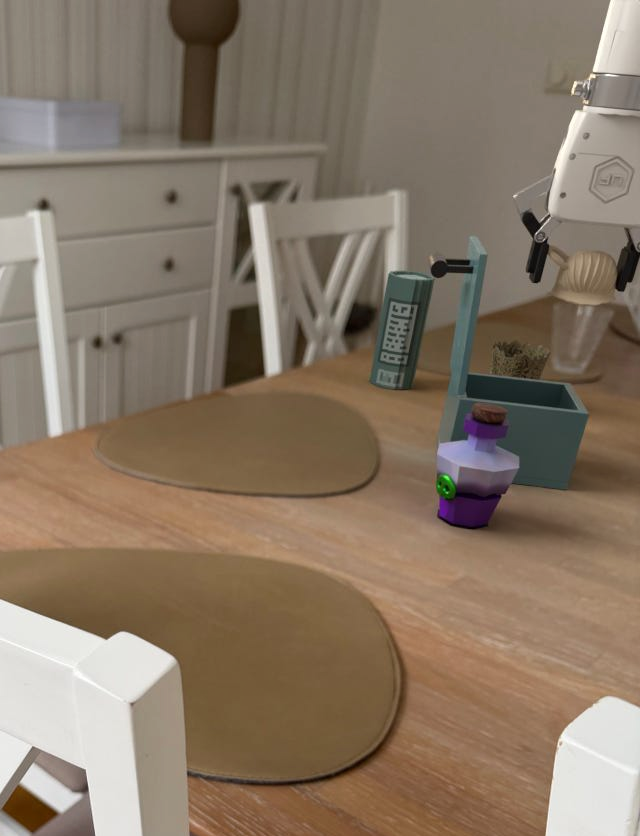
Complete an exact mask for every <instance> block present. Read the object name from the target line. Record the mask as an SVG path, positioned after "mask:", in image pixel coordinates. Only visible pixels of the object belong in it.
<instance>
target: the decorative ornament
mask: <svg viewBox="0 0 640 836" xmlns="http://www.w3.org/2000/svg"><path fill="white" fill-rule="evenodd" d="M556 254H557V255H556ZM547 256H548V257H549V258H550V259H551V260H552V261H553V262H554V263H555V264H556V265H557V266H558V267H559V270H558V271H557V275H556V279H555V283H554V285H553V287H552V289H551V290H549V291H548V292H546V296H547V295H551V296H553V297H555V298H557V299H559V300H562V301H565V302H566V303H570V304H574V305H576V306H579V307H580V306H581V307H584V306H585V307H586V306H587V307H598V306H600V305H608V303H612V302H614V301H616V300H617V297H616V296H615V291H616V289H615V288H616V281H617V274H618V273H617V262H616V260H615V259H614V257H613V256H612V255H611V254H609V253H607V252H606V251H602V250H597V249H584V250H579V251H576V252H574V253H572V254H570V255H568V254H567V253H566V252H565V251H563V250H562V249H560V248H559V247H557V246H555V245H551V244H549V250H548V254H547ZM558 256H559V257H558ZM560 258H561V259H562V260H561V259H560Z"/></svg>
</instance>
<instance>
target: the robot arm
mask: <svg viewBox="0 0 640 836" xmlns="http://www.w3.org/2000/svg"><path fill="white" fill-rule="evenodd" d="M570 93H571V94H570V95H571V96H572V97H578V98H579V99H581V100H582V104H583V107H582V109H576V110H575V112H574V113H573V115H572V118H571V120H570V122H569V124H568V127H567V129H566V132H565V134H564V137H563V140H562V143H561V144H560V145H561V146H560V148H559V151H558V153H557V154H558V155H557V157H556V160H555V163H554V166H553V169H552V172H551V174H549V175H547V176H544V177H542V178H541V179H539V180H537V181H536V182H534V183H532V184H530V185H528V186H526V187H525V188H522V189H521V190H519V191H517V192H515V193H514V194H513V197H512V201H513V203H514V204H515V208H516V211H517V213H518V215H519V218H520V221H521V222H522V224H523V225H524V227H525V229H526V231H527V232H528V233H529V236H530V237H531V238H532V241H531V245H530V248H529V249H530V250H529V254H528V257H527V261H526V265H525V273H526V274H529V275H528V278H529V280H530V282H531V283H532V284H539V283H541V281H542V277H543V273H544V269H545V265H546V261H547V257H548V250H549V246H550V244H549V243H548V240H549V236H550V235H552V234H553V233H554V231H555V230H556V229H557V228H559V226H560V225H561V224H562V223H568V224H569V223H570V224H578V225H579V224H580V225H590V226H601V227H611V228H621V229H622V228H623V229H624V233H625V236H626V240H627V243H626V246H623V248H621V250H620V253H619V256H618V261H617V262H616V267H617V273H618V274H617V281H616V288H615V291H617V292H620V293H624V292H626V288H627V285H628V283H629V284H631V283H633V281H634V278H635V274H636V272H637V268H638V264H639V261H640V0H610V2H609V4H608V8H607V12H606V17H605V20H604V25H603V29H602V32H601V36H600V41H599V44H598V48H597V52H596V56H595V61H594V64H593V67H592V73H589V76H588V77H586V78H584V79H582V80H580V79H579V80H577V79H576V80H574V82H573V85H572V87H571V92H570ZM543 195H545V198H544V203H543V204H544V205H543V207H544V210H545V212H546V213H545V214H544V216H543V217H542V218H541V219H540V220H538V219H537V217H536V215H535V214H534V212H533V209H532V205H531V203H532V201H533V200H536V199H537V198H539V197H540V196H543Z"/></svg>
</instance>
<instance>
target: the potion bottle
mask: <svg viewBox="0 0 640 836" xmlns="http://www.w3.org/2000/svg"><path fill="white" fill-rule="evenodd" d="M507 412H508V411H507V410H506V409H505V408H503V407H500V406H497V405H493V404H487V403H475V404H474V406H473V408H472V410H471V413H468V414H466V419H465V423H464V428H463V431H464V432H466V433H468V434H469V437H468V441H466V440H461V441H454V442H447V443H440V444H439V448H438V447H437V453H436V480H435V481H436V482H435V487H436V488H435V489H436V493H437V494H438V496H439V502H438V503H439V506H438V510H437V514H436V518H437V519H439V520H440V521H443V522H444V523H446V524H447V525H449V526H451V527H457V528H461V529H467V530H476V529H481V528H482V529H483V528H488V527H489V522H490V520H491V518H492V516H493V514H494V513H495V511H496V509H497V506H498V504H499V503H500V501H501V499H502V495H506V494H507V492H508V490H509V488H510V486H511V485H512V483H511V482H512V481H513V479H514V477H515V475H516V473H517V471H518V469H519V456H517V455H515V454H513V453H511V452H508V451H506V450H504V449H502V448H500V447H498V446H496V442H497V439H499V438H505V437H506V433H507V429H508V425H509V420H507V419H505V418H506V415H507Z"/></svg>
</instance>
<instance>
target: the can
mask: <svg viewBox="0 0 640 836" xmlns="http://www.w3.org/2000/svg"><path fill="white" fill-rule="evenodd" d="M435 280H436V278H435V277H434V276H433V275H432V274H428V273H425V272H422V271H421V272H420V271H414V270H403V269H401V270H400V269H399V270H390V271H389V272H388V275H387V281H386V286H385V292H384V297H383V301H382V308H381V313H380V320H379V325H378V330H377V336H376V341H375V347H374V352H373V359H372V364H371V369H370V375H369V379H368V381H369V382H370V383H371V384H372V385H375V386H376V387H380V388H383V389H389V390H400V391H401V390H408V389H412V388H413V386H414V384H415V378H416V374H417V369H418V363H419V358H420V355H421V349H422V345H423V338H424V335H425V329H426V323H427V319H428V315H429V310H430V304H431V299H432V294H433V290H434V283H435Z"/></svg>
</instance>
